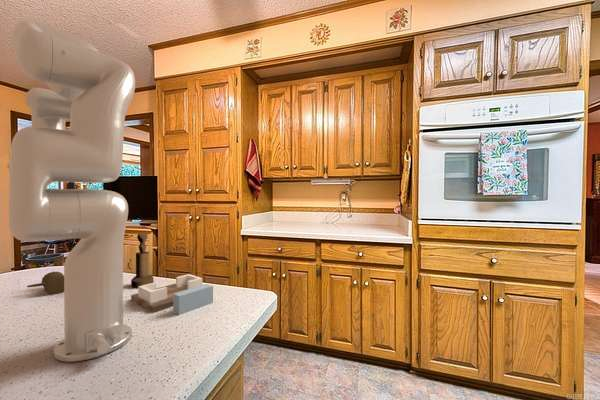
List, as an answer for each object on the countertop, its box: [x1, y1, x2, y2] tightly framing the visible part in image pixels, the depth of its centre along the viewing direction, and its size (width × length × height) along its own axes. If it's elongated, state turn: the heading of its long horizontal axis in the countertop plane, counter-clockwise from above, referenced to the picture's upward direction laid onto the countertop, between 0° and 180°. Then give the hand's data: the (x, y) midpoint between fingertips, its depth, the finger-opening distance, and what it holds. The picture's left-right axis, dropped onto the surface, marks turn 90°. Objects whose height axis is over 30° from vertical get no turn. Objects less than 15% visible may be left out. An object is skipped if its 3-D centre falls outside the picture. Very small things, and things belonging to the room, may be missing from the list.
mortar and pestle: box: [130, 232, 155, 289], centre depth 91 cm, size 7×6×18 cm
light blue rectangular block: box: [172, 283, 214, 316], centre depth 73 cm, size 3×10×5 cm, turn 143°
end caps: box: [137, 273, 203, 303], centre depth 80 cm, size 8×16×3 cm, turn 143°
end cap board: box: [130, 282, 187, 313], centre depth 80 cm, size 14×17×2 cm
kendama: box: [26, 271, 64, 296], centre depth 89 cm, size 6×10×20 cm
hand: (49, 194), depth 81 cm, fingers open, 9 cm apart
